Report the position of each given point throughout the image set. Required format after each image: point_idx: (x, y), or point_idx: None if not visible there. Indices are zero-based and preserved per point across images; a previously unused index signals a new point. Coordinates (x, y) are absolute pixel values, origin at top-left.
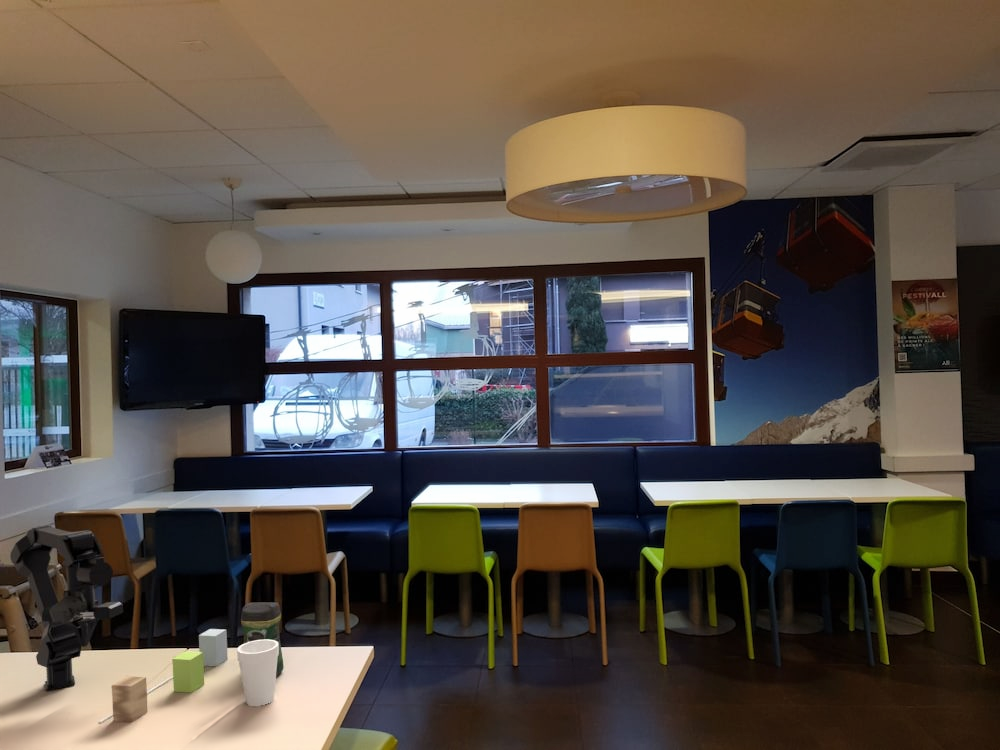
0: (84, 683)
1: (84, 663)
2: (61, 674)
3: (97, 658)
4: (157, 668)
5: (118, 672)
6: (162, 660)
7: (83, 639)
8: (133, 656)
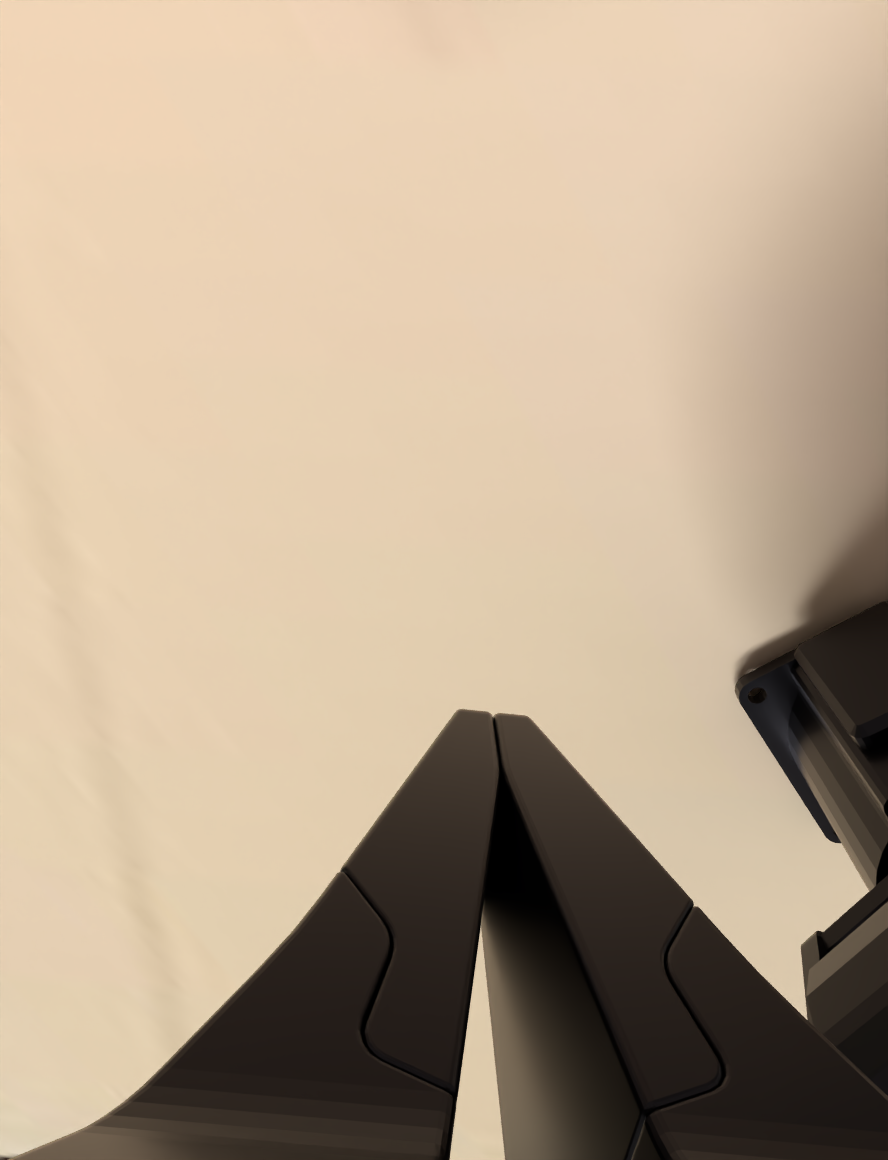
0: (661, 715)
1: None
2: (876, 685)
3: None
4: (209, 925)
5: None
6: None
7: (449, 785)
8: None
